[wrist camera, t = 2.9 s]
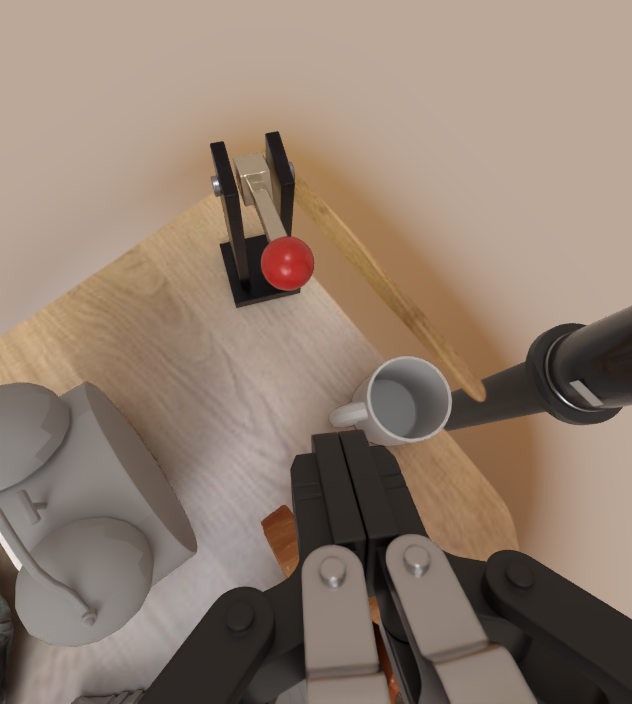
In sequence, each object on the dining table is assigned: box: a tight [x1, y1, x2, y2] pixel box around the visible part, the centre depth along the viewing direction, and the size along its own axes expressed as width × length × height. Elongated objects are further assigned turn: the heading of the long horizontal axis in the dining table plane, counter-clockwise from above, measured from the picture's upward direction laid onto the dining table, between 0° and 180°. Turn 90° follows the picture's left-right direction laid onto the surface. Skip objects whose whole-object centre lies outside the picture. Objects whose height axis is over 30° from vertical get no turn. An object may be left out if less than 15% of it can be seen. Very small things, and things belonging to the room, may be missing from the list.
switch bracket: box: [210, 131, 300, 308], centre depth 40 cm, size 7×7×18 cm
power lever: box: [233, 152, 314, 291], centre depth 30 cm, size 13×3×3 cm, turn 16°
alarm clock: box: [0, 382, 197, 647], centre depth 31 cm, size 16×9×22 cm, turn 35°
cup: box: [329, 356, 452, 446], centre depth 41 cm, size 7×10×9 cm
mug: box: [261, 505, 400, 704], centre depth 34 cm, size 15×8×15 cm, turn 35°
